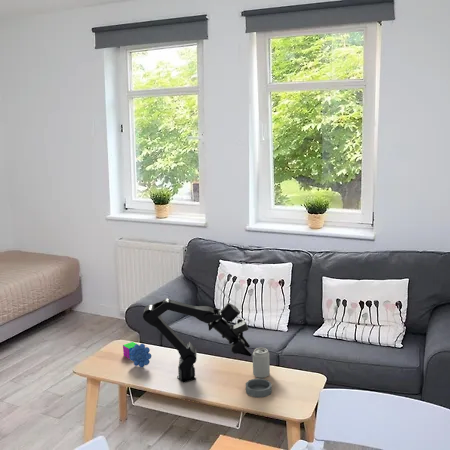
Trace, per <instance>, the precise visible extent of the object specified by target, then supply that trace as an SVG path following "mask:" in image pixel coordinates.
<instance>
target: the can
mask: <svg viewBox="0 0 450 450" xmlns="http://www.w3.org/2000/svg"><path fill="white" fill-rule="evenodd" d="M270 371H271V370H270V351H269V350H268V349H267V348H266V347H257V348H255V349H254V350H253V352H252V375H253V376H254V377H256V379H265V378H267V377H269V375H270V374H271V373H270Z"/></svg>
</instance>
